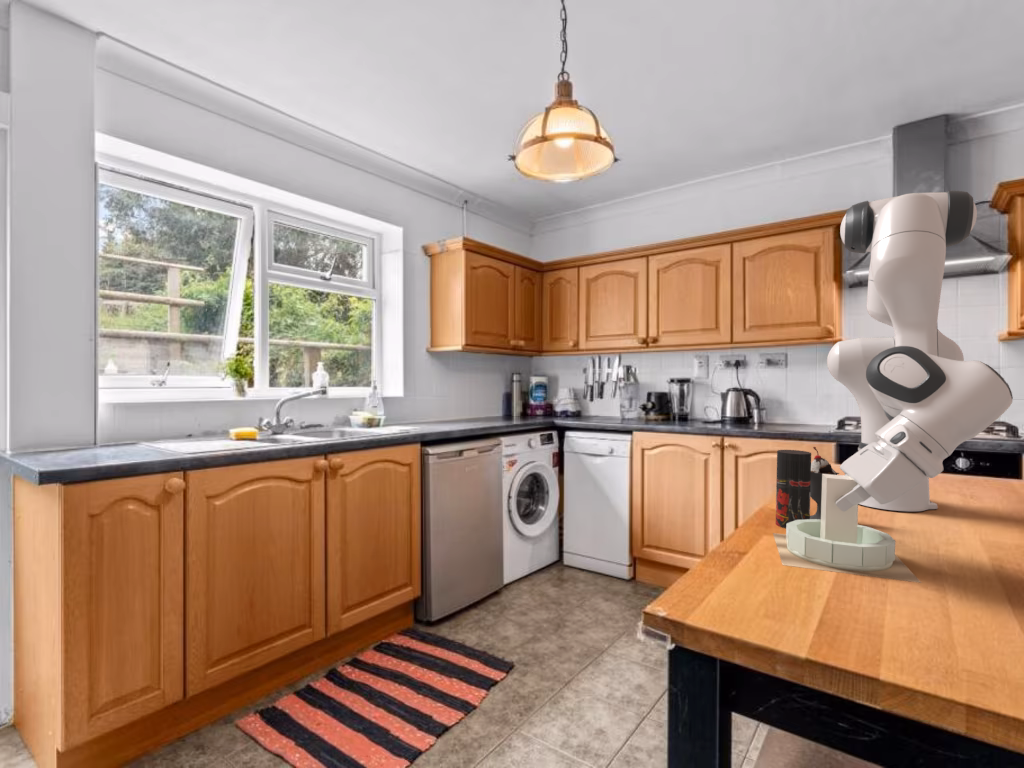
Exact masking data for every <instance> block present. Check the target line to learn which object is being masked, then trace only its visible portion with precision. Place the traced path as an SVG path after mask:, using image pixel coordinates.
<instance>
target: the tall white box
mask: <svg viewBox="0 0 1024 768" xmlns="http://www.w3.org/2000/svg"><path fill="white" fill-rule="evenodd" d="M844 475H845V474H844ZM844 475H843V474H842V475H841V474H837V475H831V474H822V498H821V529H820V538H822V539H827V540H831V541H837V542H846V543H855V544H857V526H858V525H859V523H858V520H859V504H856V505H854V506H852V507H851V508H849V509H848V510H847V511H842V510H841V509H840V508H839V507H838V506H837V505H836V504H835V500H837V499H838V498H839V497H840V496H842V495H843V496H844V495H846V494H847V493H849V492H850V491H852V490H853V488H854V487H855V486H857V485H858V483H856V482H855V481H854V480H853V479H852V478H851V477H849V476H844Z"/></svg>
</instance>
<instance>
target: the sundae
mask: <svg viewBox="0 0 1024 768" xmlns="http://www.w3.org/2000/svg"><path fill="white" fill-rule="evenodd" d="M812 448H813V450H815V451H816V453H817V454H816V455H814V458H813V460H812V461H811V490H810V499H812V500H813V501H815V503H816V511H815V514H810V519H817V520H818V519H821V498H822V474H831V475H840V472H836V471H835V469H833V468H832V465H831V463H830V462H829V461H828V459H825V458H823V457H822V456H821V455H819V451H818V449H817V448H816V446H813V447H812Z"/></svg>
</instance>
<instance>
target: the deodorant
mask: <svg viewBox="0 0 1024 768" xmlns="http://www.w3.org/2000/svg"><path fill="white" fill-rule="evenodd" d="M811 463H812V452H810V451H805V450H797V449H777V450H776V490H775V492H776V496H775V525H776V526H777V527H780V528H782V529H785V530H786V524H787V523H789V522H792V521H795V520H805V519H810V516H811V497H810V490H811Z"/></svg>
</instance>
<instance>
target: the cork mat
mask: <svg viewBox="0 0 1024 768" xmlns="http://www.w3.org/2000/svg"><path fill="white" fill-rule="evenodd" d="M772 534H773V538H774V542H775V545H776V548H777V551H778V555H779V558H780V560H781V561H780V562H781V564H782V566H785V567H793V568H800V569H801V568H802V569H810V570H817V571H826V572H834V573H842V574H849V575H856V576H857V575H858V576H863V577H870V578H871V577H873V578H879V579H888V580H896V581H904V582H913V583H918V584H919V583H920V584H922V581H921V580H920V579H919V578H918V577H917V576H916V575H915V574H914V573H913V572H912V571H911V570H910V569H909V567H908V566H907V565H905V563H904V562H903V561H902V560H901V559H900V558H899V557H898V556H897V555H896V554H895V560H894V561H893V565H892V567H891V568H889V569H886V570H882V571H852V570H844V569H837V568H832V567H827V566H823V565H819V564H815V563H812V562H809V561H806V560H803V559H801V558H799V557H796V556H795V555H793V554H792V553H790V552H789V551H788V549H787V542H786V533H778V532H777V533H775V532H774V533H772Z"/></svg>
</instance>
